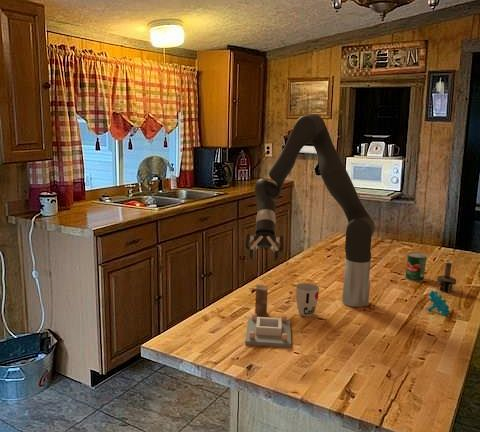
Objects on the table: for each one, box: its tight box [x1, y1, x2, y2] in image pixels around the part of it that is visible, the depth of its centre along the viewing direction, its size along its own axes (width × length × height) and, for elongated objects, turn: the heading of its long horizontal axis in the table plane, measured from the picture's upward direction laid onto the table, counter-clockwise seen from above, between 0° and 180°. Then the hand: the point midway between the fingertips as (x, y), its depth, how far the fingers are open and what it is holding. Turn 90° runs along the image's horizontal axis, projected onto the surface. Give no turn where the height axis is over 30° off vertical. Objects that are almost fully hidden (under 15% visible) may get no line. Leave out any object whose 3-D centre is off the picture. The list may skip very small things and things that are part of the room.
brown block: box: [254, 284, 269, 317], centre depth 175 cm, size 4×4×10 cm
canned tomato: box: [404, 251, 427, 283], centre depth 218 cm, size 8×8×11 cm
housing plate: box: [244, 313, 292, 348], centre depth 160 cm, size 14×18×4 cm
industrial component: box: [436, 261, 457, 294], centre depth 205 cm, size 9×7×12 cm
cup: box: [295, 282, 320, 317], centre depth 176 cm, size 8×8×10 cm
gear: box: [427, 290, 451, 316], centre depth 182 cm, size 11×6×10 cm
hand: (263, 260), depth 183 cm, fingers open, 8 cm apart
